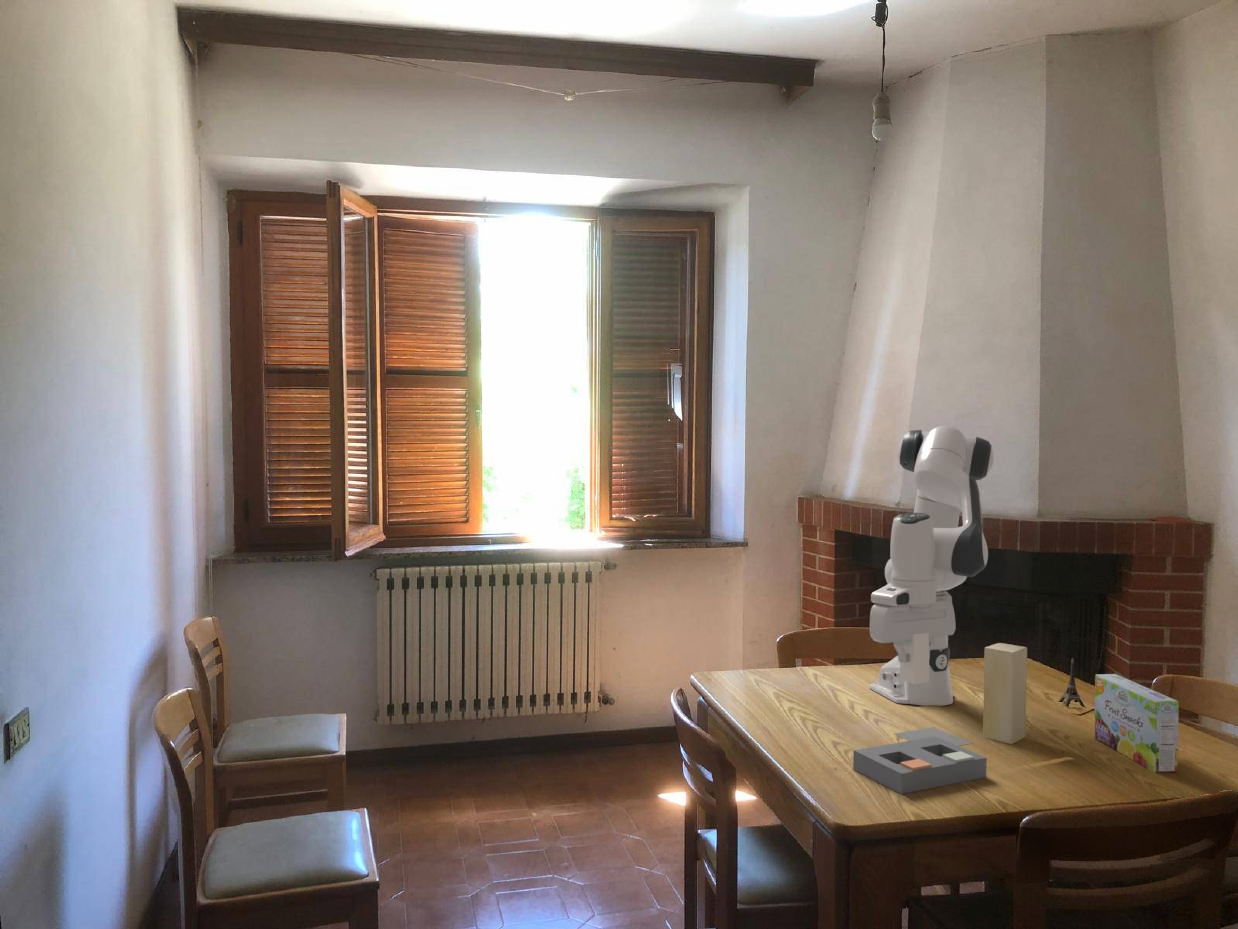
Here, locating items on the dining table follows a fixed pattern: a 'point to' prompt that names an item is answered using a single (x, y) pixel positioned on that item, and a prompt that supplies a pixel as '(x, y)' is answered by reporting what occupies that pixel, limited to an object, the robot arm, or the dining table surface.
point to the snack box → (1137, 722)
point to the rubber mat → (932, 735)
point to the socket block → (919, 764)
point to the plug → (916, 660)
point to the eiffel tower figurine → (1071, 690)
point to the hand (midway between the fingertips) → (914, 660)
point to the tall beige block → (1005, 692)
